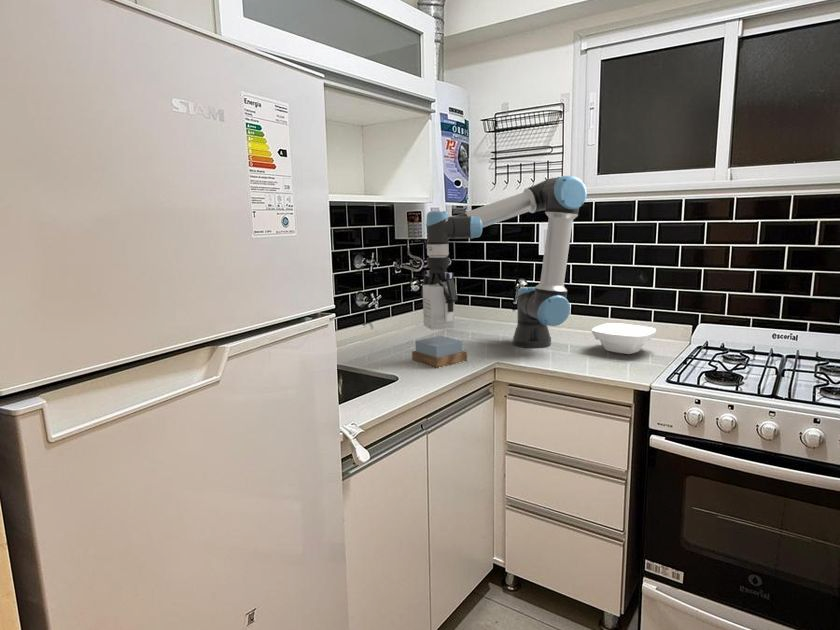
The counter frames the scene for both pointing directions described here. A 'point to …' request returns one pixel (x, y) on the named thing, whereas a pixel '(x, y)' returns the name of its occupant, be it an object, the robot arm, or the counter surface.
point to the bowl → (623, 337)
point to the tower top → (439, 346)
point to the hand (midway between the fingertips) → (438, 318)
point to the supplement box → (435, 308)
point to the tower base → (439, 359)
